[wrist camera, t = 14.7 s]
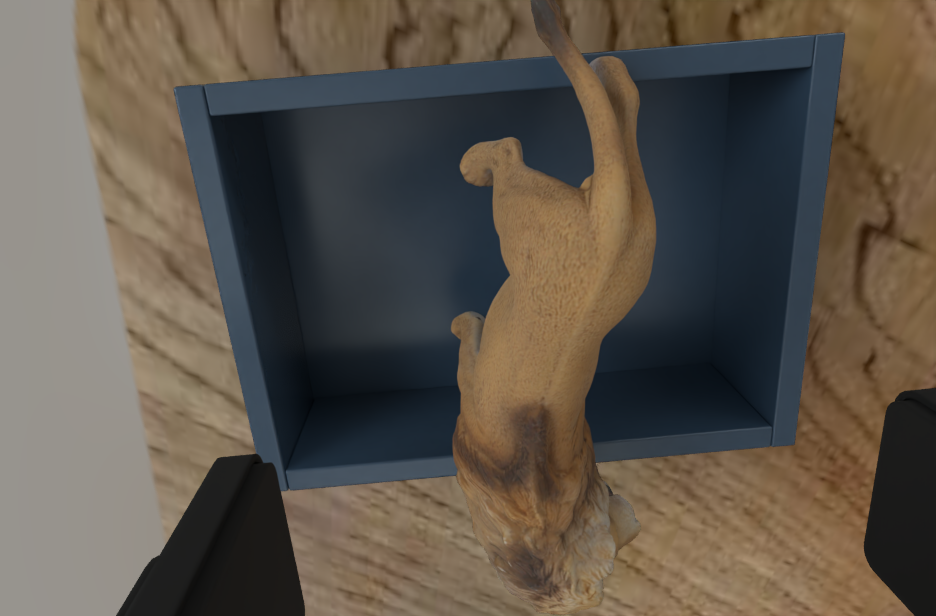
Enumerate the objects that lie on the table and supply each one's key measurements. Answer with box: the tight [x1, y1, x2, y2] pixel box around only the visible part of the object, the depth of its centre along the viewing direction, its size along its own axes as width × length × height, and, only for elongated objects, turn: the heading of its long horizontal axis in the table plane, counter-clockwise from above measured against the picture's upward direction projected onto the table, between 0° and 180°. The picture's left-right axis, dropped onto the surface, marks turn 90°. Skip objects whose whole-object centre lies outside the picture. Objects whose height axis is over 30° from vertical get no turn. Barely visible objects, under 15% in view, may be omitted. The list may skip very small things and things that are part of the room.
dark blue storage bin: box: [174, 32, 845, 491], centre depth 21 cm, size 18×13×6 cm
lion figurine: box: [451, 0, 656, 615], centre depth 16 cm, size 15×5×9 cm, turn 4°
